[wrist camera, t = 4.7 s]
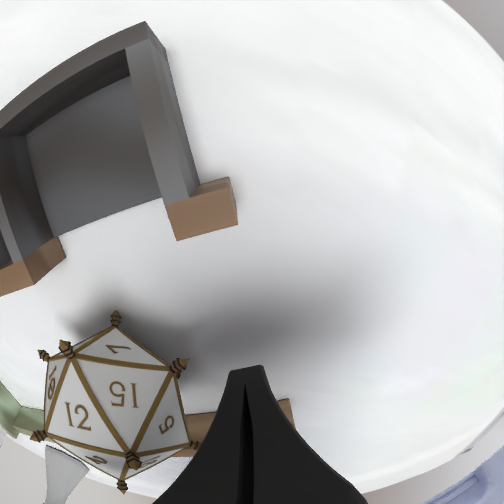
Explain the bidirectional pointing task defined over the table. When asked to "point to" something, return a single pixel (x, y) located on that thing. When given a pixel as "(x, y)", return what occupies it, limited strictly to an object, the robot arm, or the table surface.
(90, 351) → the game die
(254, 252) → the table surface
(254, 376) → the robot arm
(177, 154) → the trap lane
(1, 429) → the spray bottle
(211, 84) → the table surface
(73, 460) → the flask
